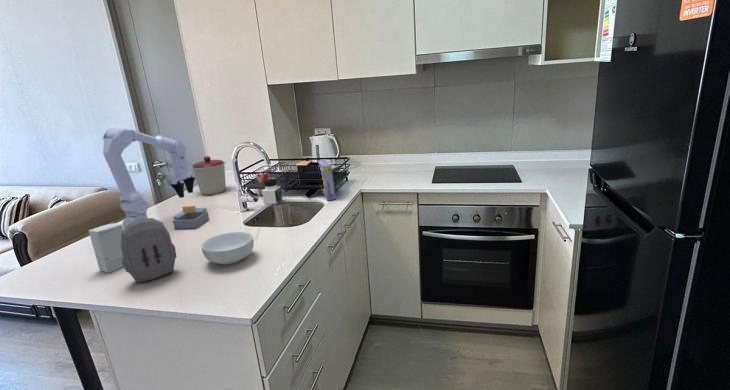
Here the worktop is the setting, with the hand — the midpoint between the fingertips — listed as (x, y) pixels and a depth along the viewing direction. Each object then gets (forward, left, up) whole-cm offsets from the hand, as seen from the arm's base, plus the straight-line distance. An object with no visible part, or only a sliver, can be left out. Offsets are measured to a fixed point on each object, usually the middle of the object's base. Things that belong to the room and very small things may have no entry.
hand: (186, 194), depth 180 cm
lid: (0, 0, -10) cm, 10 cm away
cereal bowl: (-49, -43, -10) cm, 66 cm away
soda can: (+29, -27, -10) cm, 41 cm away
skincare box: (-53, -3, -10) cm, 54 cm away
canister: (+37, +7, -10) cm, 39 cm away
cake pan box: (+22, -63, -10) cm, 67 cm away
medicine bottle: (+15, -36, -10) cm, 40 cm away
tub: (-14, -9, -10) cm, 19 cm away
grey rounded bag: (-61, -23, -10) cm, 66 cm away
